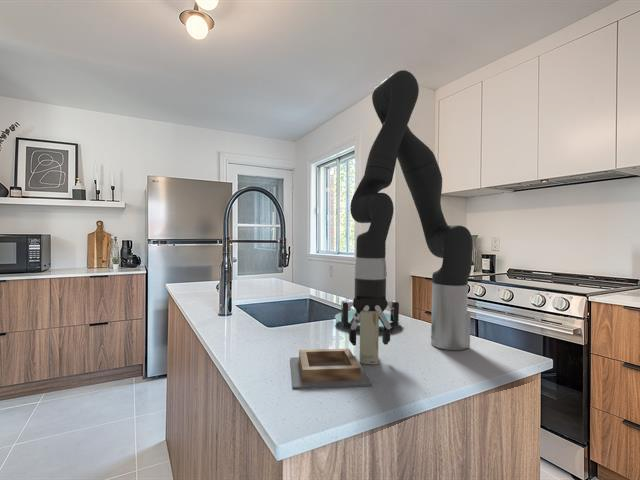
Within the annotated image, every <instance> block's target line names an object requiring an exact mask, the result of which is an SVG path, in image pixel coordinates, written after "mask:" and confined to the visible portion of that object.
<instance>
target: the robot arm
mask: <svg viewBox="0 0 640 480" xmlns="http://www.w3.org/2000/svg"><path fill="white" fill-rule="evenodd" d="M419 86H420V85H419V82H418V80H417V78H416V76H415V75H414V74H413V73H412V72H410V71H408V70H405V69H401V70H398V71H396V72H394V73H393V74H390V76H388V77H387V78H385V80H383V81H382V82H380V83H379V84H378V85H377V86H376V87H374V89H373V90H372V95H371V98H372V99H371V102H372V106H373V108H374V112H375V113H376V116H377V117H378V119H379V121H380V123H381V125H382V126H381V128H380V130H379V131H378V134H377V136H376V137H375V139H374V141H373V142H372V143H373V144H372V145H371V147H370V150H369V153H368V155H367V159H366V165H365V168H364V174H363V176H362V178H361V180H360V182H359V183H358V186H357V188H356V190H355V191H354V193H353V195H352V198H351V202H350V206H349V207H350V215H351V217H352V219H353V220H354V221H355V222H356V223H360V224H369V226H368V227H369V228H368V230H367V231H365V232H362V233H360V234H358V235H357V236H356V240H355V241H356V242H355V243H356V245H355V246H356V248H355V251H356V252H355V257H356V258H355V262H354V263H355V266H354V298H353V300H352V301H346V300H342V301H341V302H340V304H341V307H340V309H341V310H340V313H341V322H340V323H341V325H342V326H343V328H344V329H345V328H346V329H348V341H349V342H350V344H351V345H352V346H356V345H357V329H355V328H356V327H357V325H358V324H359V323H360V312H368V311H376V312H379V319H380V321H381V322H382V324H383V326H384V327H383V330H382V343H383V345H384V346H385V345H388V344H389V342H391V329H392V328H394V327H398V326H399V324H398V318H400V317H399V316H400V315H399V314H400V313H399V311H400V303H399V302H398V301H396V300H395V299H392V300H389V301H388V300H387V297H386V296H387V276H388V275H387V274H388V273H387V262H386V253H387V252H386V250H387V249H386V248H387V247H386V245H387V244H386V242H387V238H388V234H389V231H390V226H391V224H392V223H391V222H392V220H393V217H394V208H395V207H394V202H393V200H392V198H391V196H390V195H388V194H387V193H385V192H381V191H382V190H385V189H387V188H388V187H390V186H391V185H392V181H393V178H394V173H395V168H396V163H397V161H398V163H399V166H400V170H401V173H402V175H403V178H404V180H405V183H406V186H407V187H408V190H409V193H410V195H411V197H412V201H413V203H414V205H415V208H416V211H417V214H418V217H419V221H420V224H421V228H422V231H423V234H424V235H423V236H424V239H425V243H426V246H427V248H428V250H429V252H430V253H431V254H432V255H433V256H434V257H437V258H439V259H442V262H441V263H442V264H441V266H440V268H439V269H437V270H436V271H434V272H433V273H432V277H431V278H432V279H431V282H432V283H431V331H430V334H431V335H430V338H431V339H430V344H431V345H432V346H434V347H436V348H437V349H438V348H439V349H442V350H447V351H463V350H465V349H470V348H471V312H469V311H468V297H469V296H468V293H469V292H468V289H469V287H468V286H469V285H468V283H469V278H470V275H471V272H472V266H473V265H472V264H473V254H474V253H473V251H474V250H473V249H474V244H473V241H474V240H473V235H472V234H471V231H470V230H469V229H468V228H467V227H466V226H463V225H454V224H453V225H448V223H447V221H446V219H445V215H444V213H443V210H442V205H441V203H442V201H441V199H442V191H443V175H442V172H441V169H440V166H439V164H438V161H437V158H436V156H435V154H434V152H433V151H432V150H431V148H429V146H427V145H426V144H425V143H424V142H423V141H422V140H421V139H420V138H418V137H417V135H415V134H414V133H413V131H412V130H411V128H410V127H409V122H410V120H411V117H412V114H413V113H414V112H413V111H414V109H415V106H416V103H417V101H418V98H419V94H420V93H419V92H420V88H419ZM387 307H388V309H389V310H390V314H391V315H390V321H388V320H387V318H386V317H385V315H384V313H385V312H384V311H385V310H386V309H387ZM352 308H354V310H355V311H356V312H355V314H354V315H353V318H352V320H351V321H350V322H348V311H351V309H352Z"/></svg>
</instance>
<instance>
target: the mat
mask: <svg viewBox="0 0 640 480" xmlns="http://www.w3.org/2000/svg"><path fill="white" fill-rule="evenodd" d="M353 356H354V357H355V359H356V361H357V362H358V364H359V366H360V367H361V380H349V381H322V382H302V377H301V370H300V363H299V356H298V357H297V356H296V357H293V356H292V357H290V358H289V359H290V372H291V373H290V374H291V382H292V383H291V385H292V386H291V387H292V390H304V389H325V388H326V389H329V388H350V387H351V388H353V387H354V388H355V387H356V388H358V387H373V386H374V384H373V382H372V381H371V379H370V377H369V375H368V374H367V372H366V370H365V368H363V366H362V363H360V360H359V359H358V358H357V356H356V355H353ZM308 363H309V367H318V366H346V364H345V362H344V361H339V362H308Z"/></svg>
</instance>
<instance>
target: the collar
mask: <svg viewBox="0 0 640 480" xmlns="http://www.w3.org/2000/svg"><path fill="white" fill-rule="evenodd" d="M354 356H355V355H353V353H352V351H351V349H350V348H320V349H318V348H317V349H316V348H315V349H299V350H298V357H299V363H300V370H301V377H302V382H322V381H349V380H361V367H360V366H359V364H358V362H357V361H356V359H355V357H354ZM339 361H344V362H345V364H346V366H318V367H309V363H308V362H339Z"/></svg>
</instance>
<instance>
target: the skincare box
mask: <svg viewBox="0 0 640 480" xmlns="http://www.w3.org/2000/svg"><path fill="white" fill-rule="evenodd" d="M379 332H380V331H379V312H376V311H368V312H360V330H359V363H360V364H366V365H373V366H377V365H378V364H379V337H380V336H379Z"/></svg>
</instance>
